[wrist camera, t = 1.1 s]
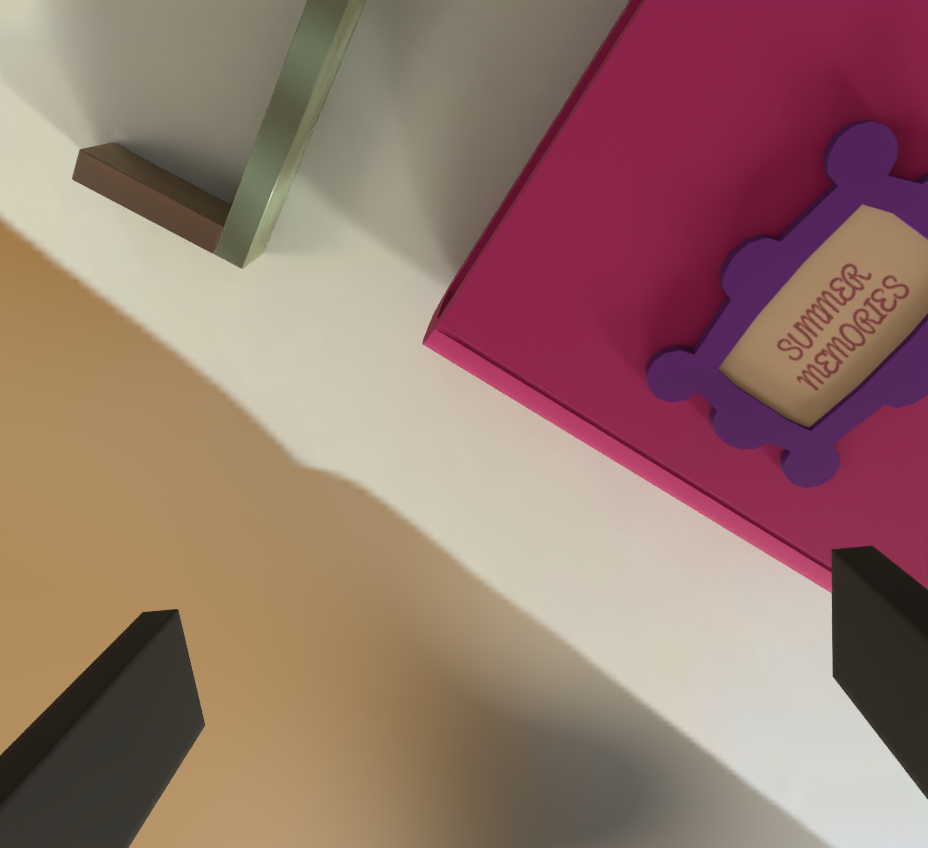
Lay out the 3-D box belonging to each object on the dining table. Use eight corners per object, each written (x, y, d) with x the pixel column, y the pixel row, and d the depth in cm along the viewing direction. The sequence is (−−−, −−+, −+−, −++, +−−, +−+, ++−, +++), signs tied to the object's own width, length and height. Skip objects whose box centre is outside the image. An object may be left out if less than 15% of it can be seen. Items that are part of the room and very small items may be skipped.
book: (838, 558, 43) (896, 653, 36) (432, 306, 38) (411, 361, 31) (1174, 262, 34) (1335, 314, 27) (700, -120, 29) (752, -173, 22)
